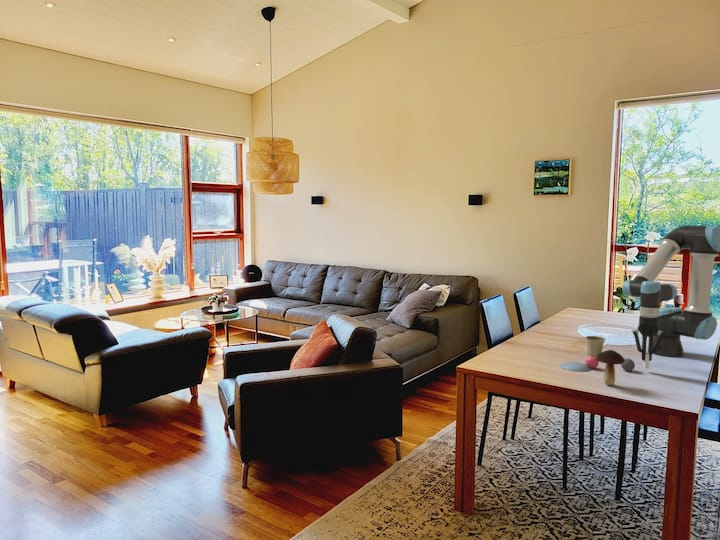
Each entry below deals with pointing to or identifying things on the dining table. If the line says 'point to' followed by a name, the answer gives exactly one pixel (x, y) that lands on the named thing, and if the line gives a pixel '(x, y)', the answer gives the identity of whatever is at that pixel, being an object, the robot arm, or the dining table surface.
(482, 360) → the dining table surface
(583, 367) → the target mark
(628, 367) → the grey ball
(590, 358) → the cranberry ball
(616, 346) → the dining table surface
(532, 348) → the dining table surface
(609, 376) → the decorative mushroom
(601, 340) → the flower pot
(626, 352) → the dining table surface
